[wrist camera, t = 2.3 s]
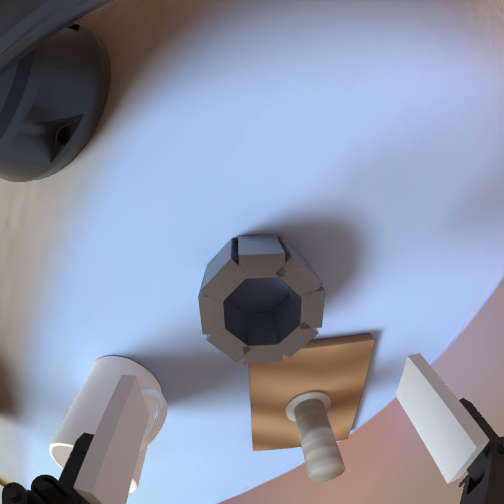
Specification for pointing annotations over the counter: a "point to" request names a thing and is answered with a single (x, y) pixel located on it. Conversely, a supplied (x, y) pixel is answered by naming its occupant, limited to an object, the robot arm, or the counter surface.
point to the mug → (95, 403)
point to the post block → (310, 400)
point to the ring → (260, 323)
